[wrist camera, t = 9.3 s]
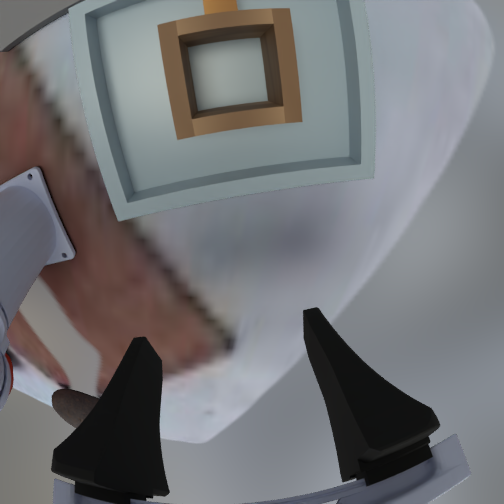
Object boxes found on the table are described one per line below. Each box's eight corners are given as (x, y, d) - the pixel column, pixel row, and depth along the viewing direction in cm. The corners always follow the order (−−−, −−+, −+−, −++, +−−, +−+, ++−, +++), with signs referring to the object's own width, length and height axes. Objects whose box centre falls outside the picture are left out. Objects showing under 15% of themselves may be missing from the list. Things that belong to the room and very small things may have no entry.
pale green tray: (128, 203, 17) (118, 221, 15) (86, 15, 9) (68, 8, 7) (357, 165, 18) (374, 178, 16) (340, -22, 10) (357, -33, 8)
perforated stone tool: (54, 385, 32) (46, 421, 26) (57, 375, 30) (47, 414, 24) (134, 417, 38) (132, 452, 32) (145, 409, 36) (142, 447, 30)
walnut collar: (186, 126, 14) (177, 140, 11) (167, 9, 10) (152, -11, 7) (282, 112, 14) (302, 122, 11) (267, -4, 10) (283, -27, 7)
